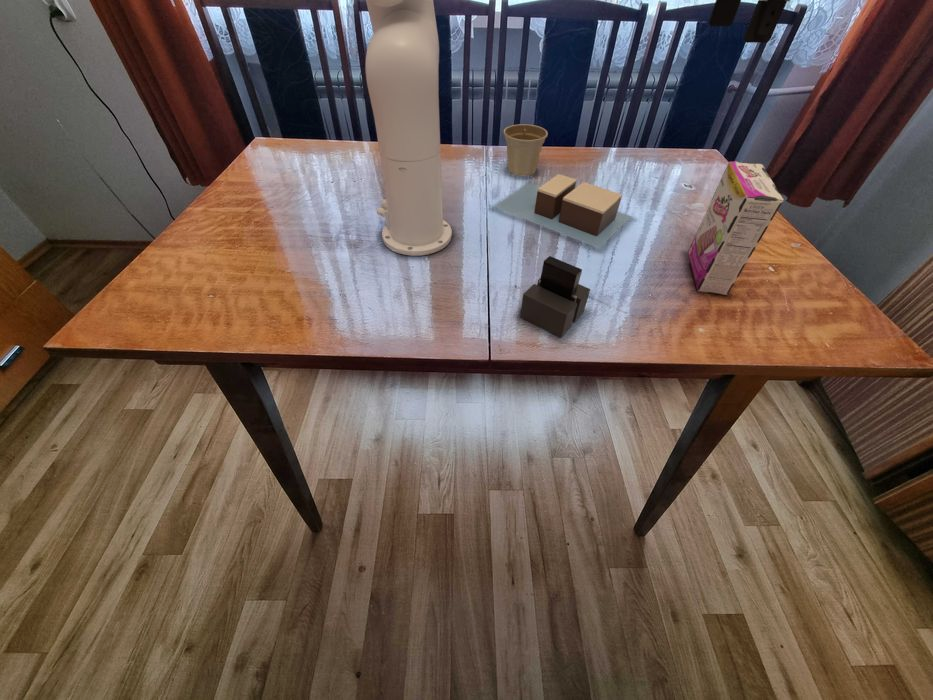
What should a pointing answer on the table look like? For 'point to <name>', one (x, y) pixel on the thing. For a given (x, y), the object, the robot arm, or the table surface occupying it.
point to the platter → (525, 207)
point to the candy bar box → (732, 226)
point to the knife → (560, 278)
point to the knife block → (552, 308)
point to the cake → (589, 208)
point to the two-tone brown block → (553, 195)
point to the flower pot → (524, 147)
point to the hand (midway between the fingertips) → (736, 33)
